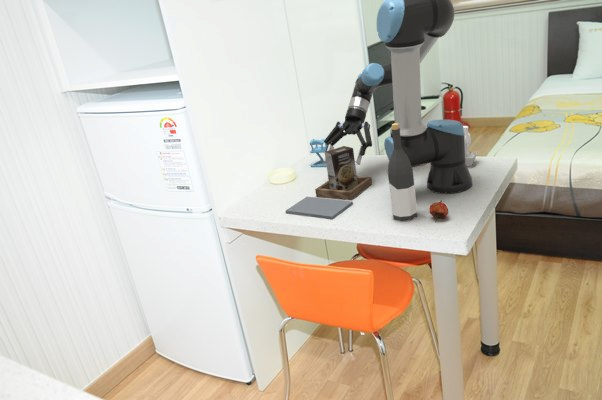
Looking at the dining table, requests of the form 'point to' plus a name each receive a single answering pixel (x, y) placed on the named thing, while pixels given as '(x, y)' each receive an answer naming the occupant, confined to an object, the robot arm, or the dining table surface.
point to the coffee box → (341, 168)
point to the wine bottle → (401, 181)
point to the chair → (318, 151)
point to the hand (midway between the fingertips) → (341, 162)
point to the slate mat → (319, 207)
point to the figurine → (468, 155)
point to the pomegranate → (438, 210)
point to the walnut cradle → (345, 195)
